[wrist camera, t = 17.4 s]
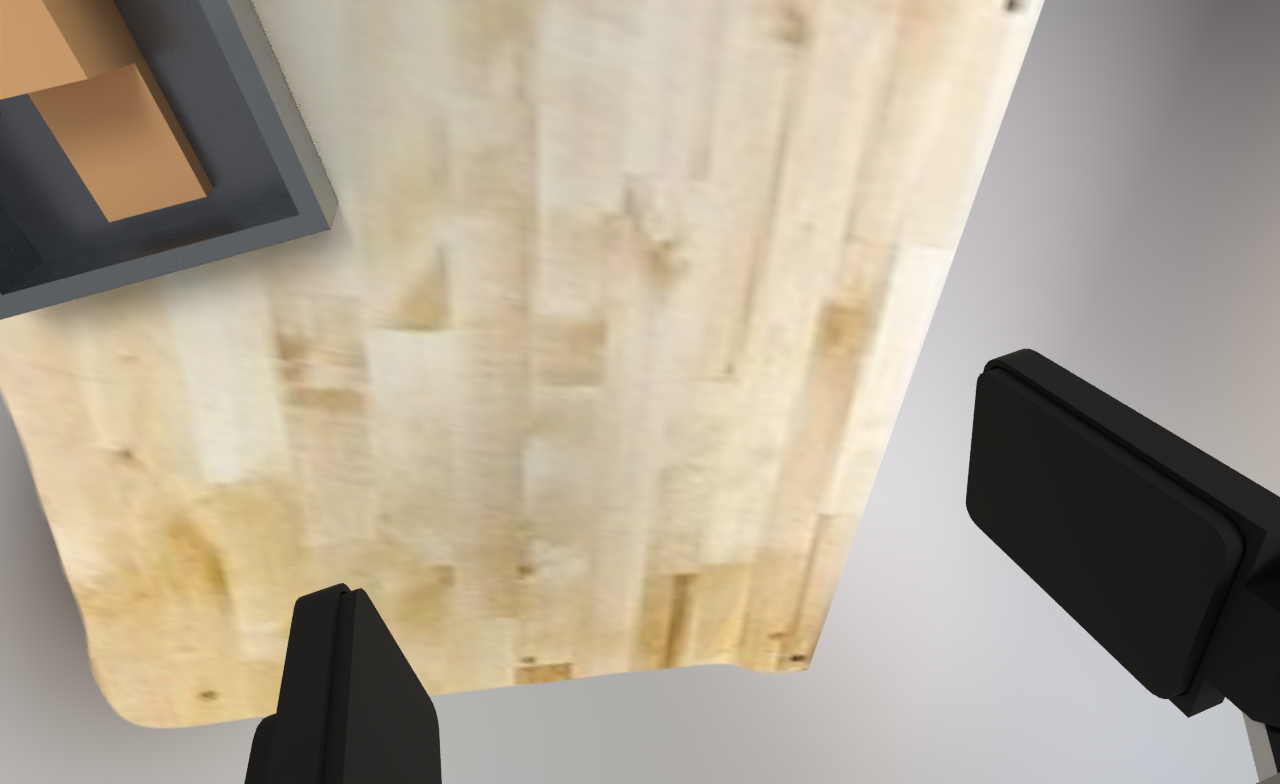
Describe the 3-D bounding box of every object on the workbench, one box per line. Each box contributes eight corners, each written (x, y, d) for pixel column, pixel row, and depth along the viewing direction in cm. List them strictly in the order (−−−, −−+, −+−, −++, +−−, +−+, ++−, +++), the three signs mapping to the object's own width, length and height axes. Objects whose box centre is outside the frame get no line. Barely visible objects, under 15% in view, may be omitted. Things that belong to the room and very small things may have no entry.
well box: (-180, -24, 28) (-279, -23, 24) (205, -103, 30) (175, -115, 26) (40, 280, 36) (-7, 321, 31) (338, 200, 38) (330, 229, 34)
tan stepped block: (-8, 9, 30) (-106, 18, 24) (104, -16, 30) (34, -13, 24) (119, 213, 35) (63, 261, 29) (213, 188, 35) (176, 231, 29)
